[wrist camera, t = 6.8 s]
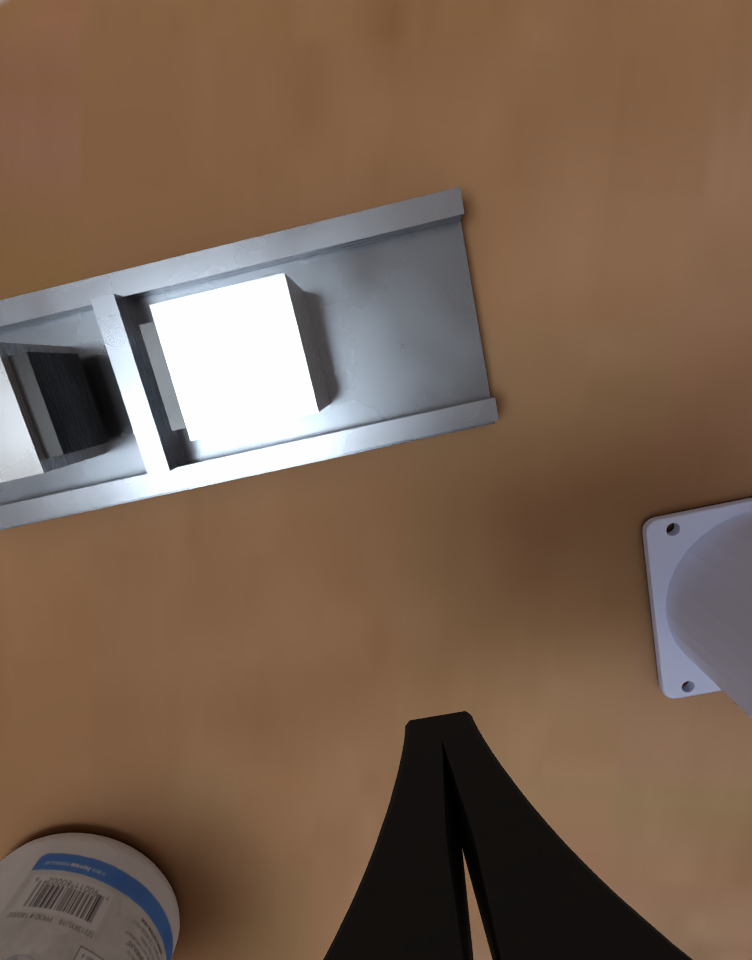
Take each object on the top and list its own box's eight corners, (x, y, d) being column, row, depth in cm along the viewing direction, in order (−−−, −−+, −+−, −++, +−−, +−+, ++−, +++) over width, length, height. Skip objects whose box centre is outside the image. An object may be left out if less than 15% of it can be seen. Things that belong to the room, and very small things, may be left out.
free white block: (303, 290, 17) (284, 272, 14) (330, 403, 18) (318, 412, 15) (178, 320, 18) (129, 310, 14) (210, 430, 19) (171, 445, 15)
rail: (453, 194, 17) (474, 142, 13) (491, 421, 19) (520, 435, 15) (-80, 326, 18) (-208, 314, 14) (1, 527, 20) (-93, 566, 16)
